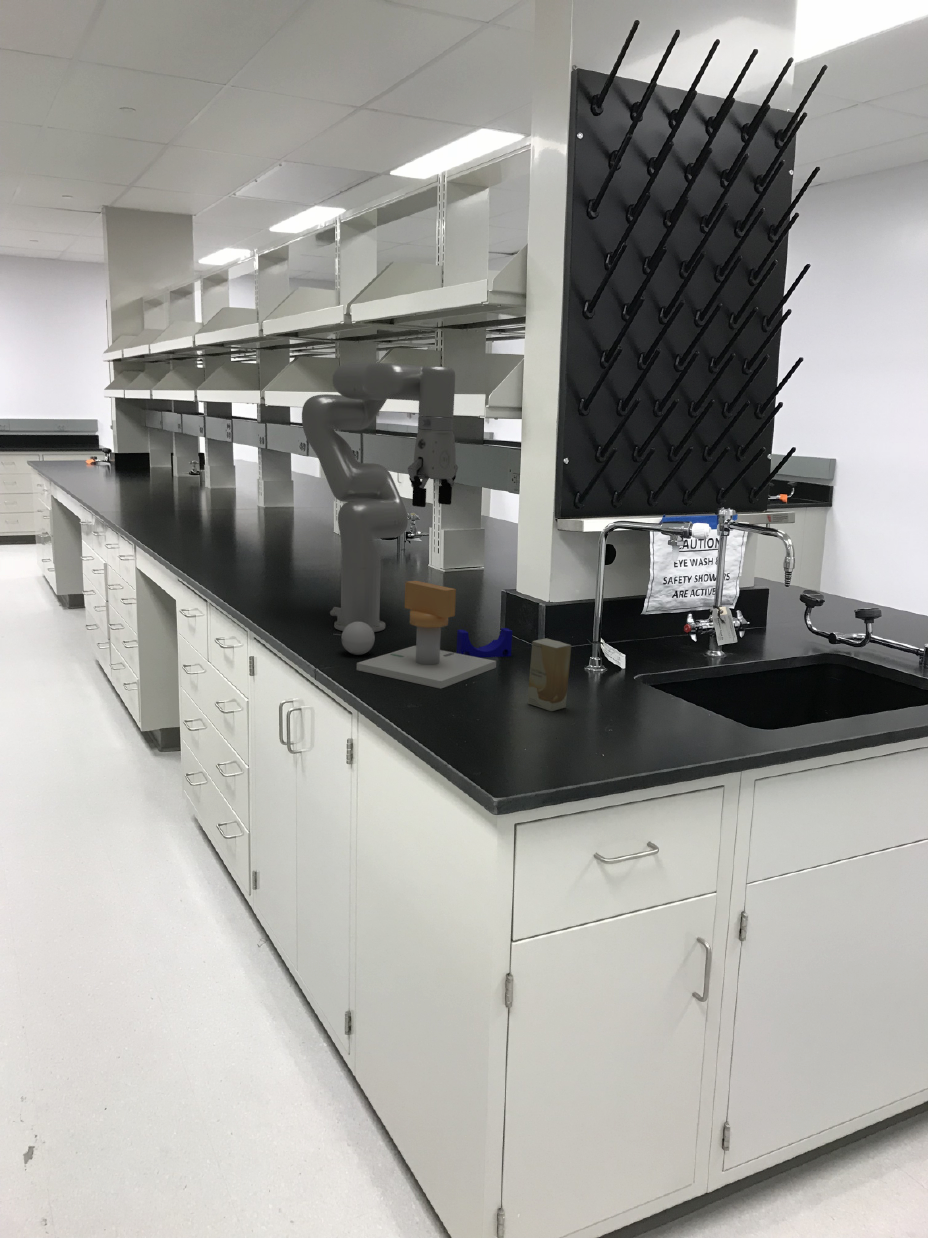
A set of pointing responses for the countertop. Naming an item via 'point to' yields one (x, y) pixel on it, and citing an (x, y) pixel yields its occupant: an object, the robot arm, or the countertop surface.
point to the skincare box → (549, 674)
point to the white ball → (358, 638)
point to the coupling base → (427, 671)
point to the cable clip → (493, 649)
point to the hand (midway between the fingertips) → (432, 505)
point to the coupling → (429, 604)
